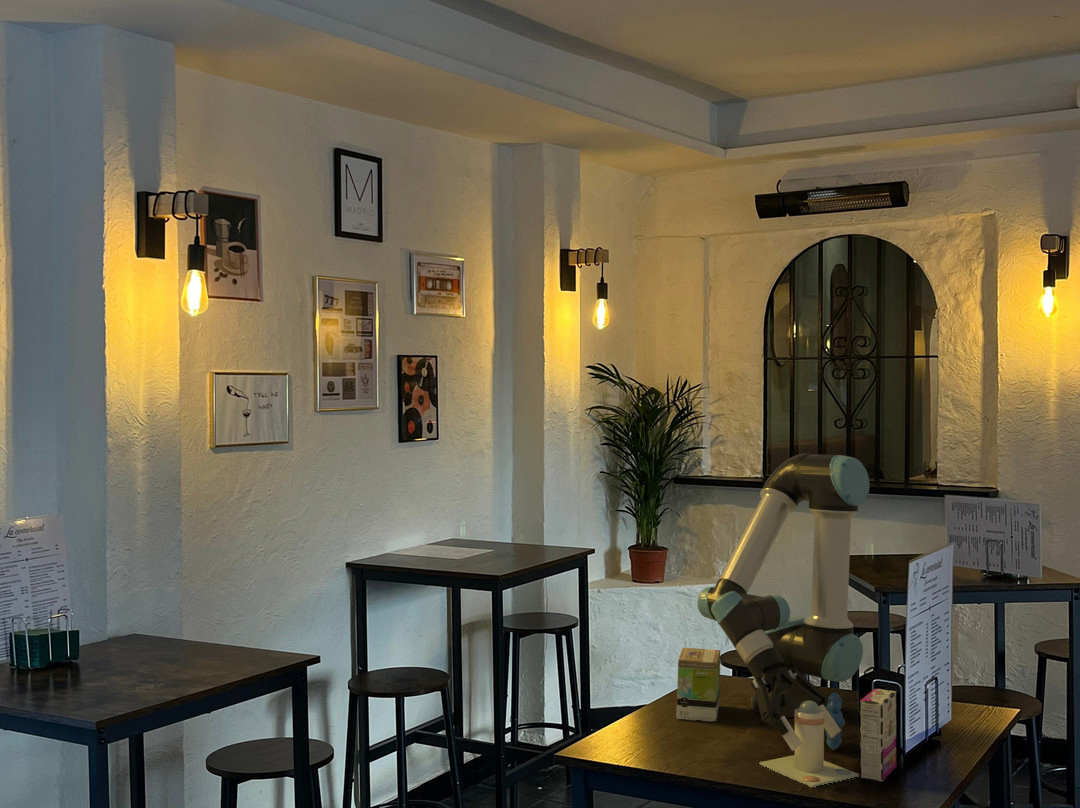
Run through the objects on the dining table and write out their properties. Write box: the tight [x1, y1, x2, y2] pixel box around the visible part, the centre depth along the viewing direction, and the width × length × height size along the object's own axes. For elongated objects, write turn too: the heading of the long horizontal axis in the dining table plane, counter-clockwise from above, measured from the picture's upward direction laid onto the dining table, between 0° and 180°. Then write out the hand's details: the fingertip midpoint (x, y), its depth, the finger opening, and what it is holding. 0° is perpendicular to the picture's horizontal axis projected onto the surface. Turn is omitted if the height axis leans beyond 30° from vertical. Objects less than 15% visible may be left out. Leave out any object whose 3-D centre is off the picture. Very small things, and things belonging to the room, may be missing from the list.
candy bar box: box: [859, 688, 897, 783], centre depth 236 cm, size 11×5×16 cm, turn 148°
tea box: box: [676, 647, 721, 722], centre depth 280 cm, size 15×10×15 cm
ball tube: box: [793, 700, 825, 773], centre depth 237 cm, size 6×6×14 cm
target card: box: [759, 754, 860, 788], centre depth 237 cm, size 13×16×1 cm
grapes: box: [824, 691, 846, 751], centre depth 254 cm, size 12×7×12 cm, turn 163°
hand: (817, 740), depth 236 cm, fingers open, 13 cm apart
